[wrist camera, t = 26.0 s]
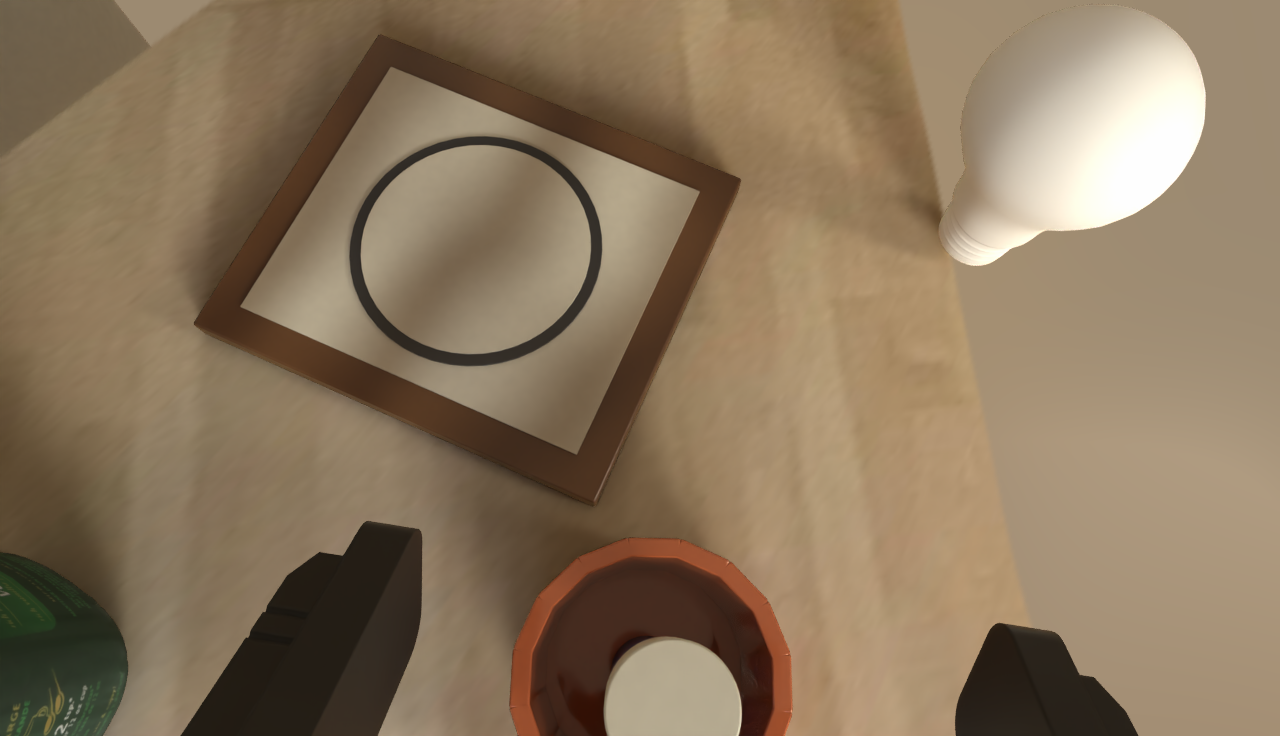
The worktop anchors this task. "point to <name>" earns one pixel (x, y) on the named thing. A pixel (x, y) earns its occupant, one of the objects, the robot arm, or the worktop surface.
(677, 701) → the cylinder
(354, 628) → the robot arm
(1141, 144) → the lightbulb
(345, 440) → the worktop surface
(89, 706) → the coffee jar
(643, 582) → the pen pot
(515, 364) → the picture frame
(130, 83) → the worktop surface
